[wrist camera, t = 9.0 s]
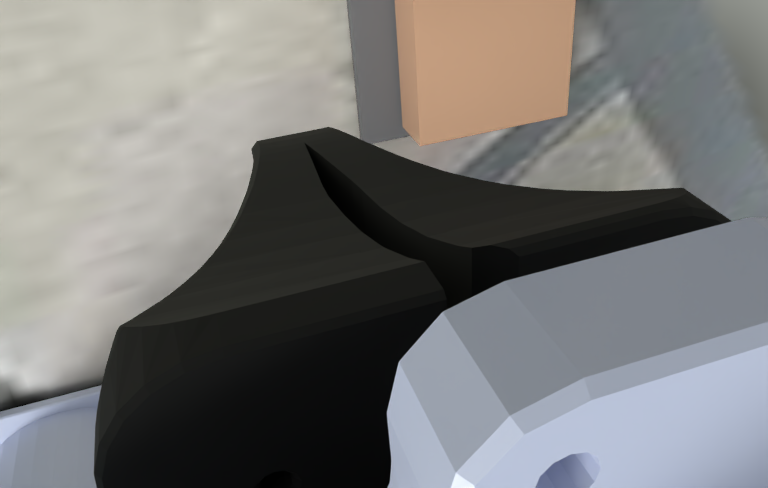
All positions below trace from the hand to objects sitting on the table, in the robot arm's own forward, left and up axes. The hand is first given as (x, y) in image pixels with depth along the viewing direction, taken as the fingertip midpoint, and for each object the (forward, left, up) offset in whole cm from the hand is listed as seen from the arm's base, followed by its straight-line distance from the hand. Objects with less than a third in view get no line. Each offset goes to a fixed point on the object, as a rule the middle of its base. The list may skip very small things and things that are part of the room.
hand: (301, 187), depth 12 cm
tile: (-1, -5, -8) cm, 10 cm away
